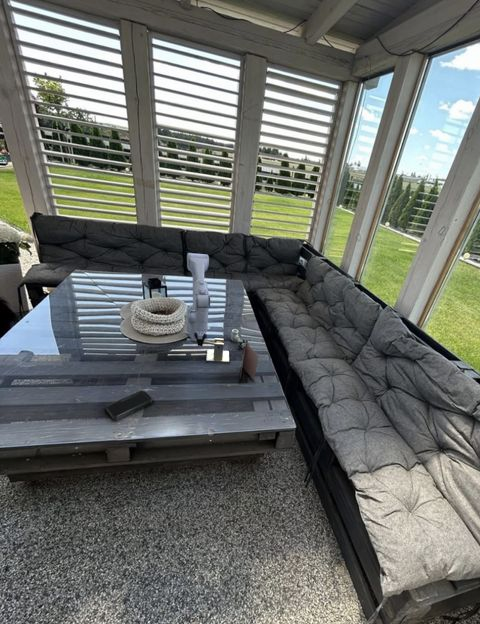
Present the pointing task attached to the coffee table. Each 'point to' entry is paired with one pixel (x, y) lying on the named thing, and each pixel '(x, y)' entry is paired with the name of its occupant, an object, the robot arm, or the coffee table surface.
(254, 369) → the greeting card
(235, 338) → the valve
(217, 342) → the lever
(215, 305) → the coffee table surface
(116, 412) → the phone
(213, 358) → the tap bracket
